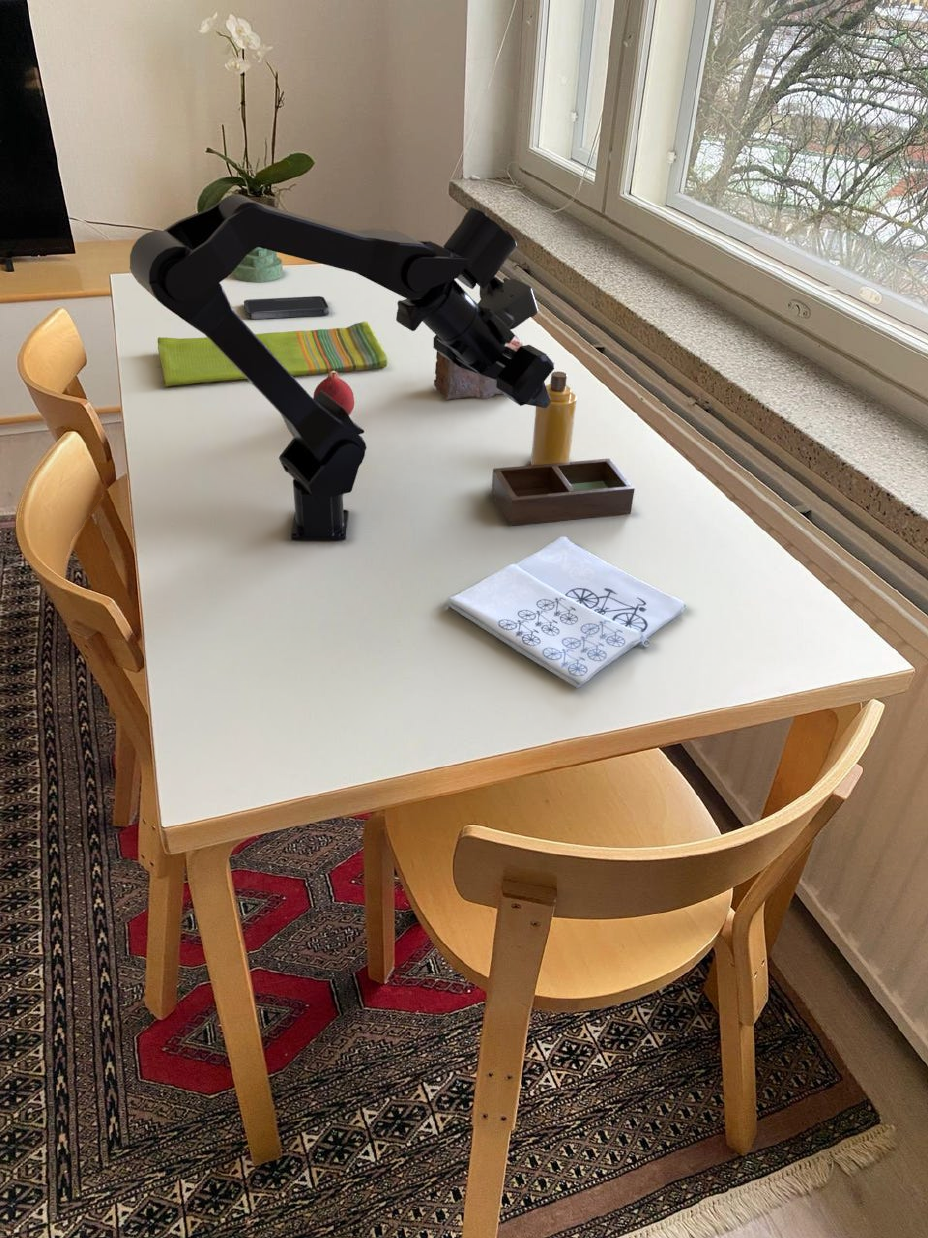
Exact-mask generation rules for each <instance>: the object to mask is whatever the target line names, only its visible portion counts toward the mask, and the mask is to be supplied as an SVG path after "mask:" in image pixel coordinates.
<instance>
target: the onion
mask: <svg viewBox="0 0 928 1238" xmlns="http://www.w3.org/2000/svg"><path fill="white" fill-rule="evenodd" d="M320 390H322V391H323V392H324V393H326V394H327V395H328V396H329V397H331V398H332V399H333V400H334V401H335V402H337V403H338V404H339V405H340V406H342V407H343V408H344V409H345V411H346V412H347V414H348V415H349V416H350V415H351V413H352V412H353V410H354V408H355V397H354V392H353V389H352V388H351V386H350V385H349V384H348V383H347V382H346V381H345V380H344V379H341V378H340V377H339V372H336V371H331V372H330V373H328V375H327V377H326V378H325V379H323V380H322V381H320V383H319V384H317V386H316V387H315V390H314V392H313V397H312V398H313V399H314V397H315V396H316V395H317V393H318V392H319V391H320Z"/></svg>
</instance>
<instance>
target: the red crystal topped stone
mask: <svg viewBox="0 0 928 1238" xmlns="http://www.w3.org/2000/svg"><path fill="white" fill-rule="evenodd" d="M505 345H506V346H508V347H509V348H511V349H513V350H515V351H517V350H518V349H519V348H520V346H525V345H524V344H523V342H521V339H520V338H519V337H518V335H516V334H515V337H514V338H513V339H512V341H511V342H510V343H509V344H508V343H506V344H505ZM503 355H504V354H503ZM505 356H506V355H505ZM506 357H507V356H506ZM508 358H509V357H508ZM435 359H436V361H435V366H434V367H435V368H434V374H435V379H433V387H434V388H435V390H436V391H437V392H438V393H439V394H440V395H441V396H442V397H443V398H444V400H446V401H447V400H453V399H462V398H470V397H477V398H478V399H483V400H487V399H488V398H491V397H492V398H493V396H495V395H501V394H503V393H501V392H500V391H499V390H498V389H497V388H496V381H497V380H495V379H492V378H489V377H486V376H483V375H480V374H478V373H475V372H472V371H469V370H466V369H464V368H461V367H459V366H457V365H456V364H454V363H453V362H451V361H449V360H448V359H446V358H445V357H443V356H442V355H441V354H440V353H439V352H438V351H436V355H435ZM510 359H511V358H510Z"/></svg>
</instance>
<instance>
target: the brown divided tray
mask: <svg viewBox="0 0 928 1238" xmlns="http://www.w3.org/2000/svg"><path fill="white" fill-rule="evenodd" d="M491 476H492V477H491V491H490V493H491V496H492V497H493V499H494V501H495V502H496V504H497V506H498V507H499V509H500V511H501V513H502V515H503V516H504V517H505V519H506V521H507V523H508V524H509V527H515V526H525V525H535V524H541V523H542V524H545V523H553V522H564V521H573V520H582V519H593V518H602V517H612V516H621V515H630V514H631V513H632V507H633V502H634V495H635V490H636V488H635V487H634V485H632V483H630V481H629V480H628V479H627V478H626V477H625V475H624V474H623V472H621V471H620V469H619V468H618V467H617V466H616V465H615V463H614V462H613V461H612V460H611V458H601V459H600V458H599V459H588V460H577V461H576V460H575V461H569V462H564V463H553V464H541V465H531V464H530V465H520V466H508V467H497V468H496V467H495V468H493V469H492V475H491Z"/></svg>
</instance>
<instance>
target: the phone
mask: <svg viewBox="0 0 928 1238" xmlns="http://www.w3.org/2000/svg"><path fill="white" fill-rule="evenodd" d="M243 307H244V308H243V309H244V312H245V314H246V318H247V319H250V320H261V319H282V318H301V317H316V316H318V317H319V316H327V315H329V314H330V310H329V309H330V307H329V305H328V303H327V301H326V299H325V297H324V296H321V295H312V296H311V295H310V296H293V297H292V296H291V297H273V298H272V297H271V298H251V299H245V300H243Z"/></svg>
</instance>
